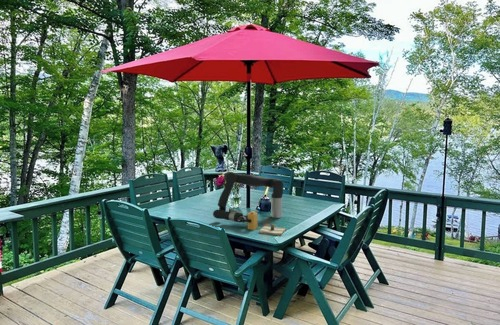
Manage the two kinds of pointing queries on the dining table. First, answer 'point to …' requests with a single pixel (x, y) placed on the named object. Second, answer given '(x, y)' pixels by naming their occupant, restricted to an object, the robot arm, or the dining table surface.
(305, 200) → the dining table surface
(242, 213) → the handheld radio
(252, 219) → the tall orange toy brick
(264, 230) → the beige board with knob
